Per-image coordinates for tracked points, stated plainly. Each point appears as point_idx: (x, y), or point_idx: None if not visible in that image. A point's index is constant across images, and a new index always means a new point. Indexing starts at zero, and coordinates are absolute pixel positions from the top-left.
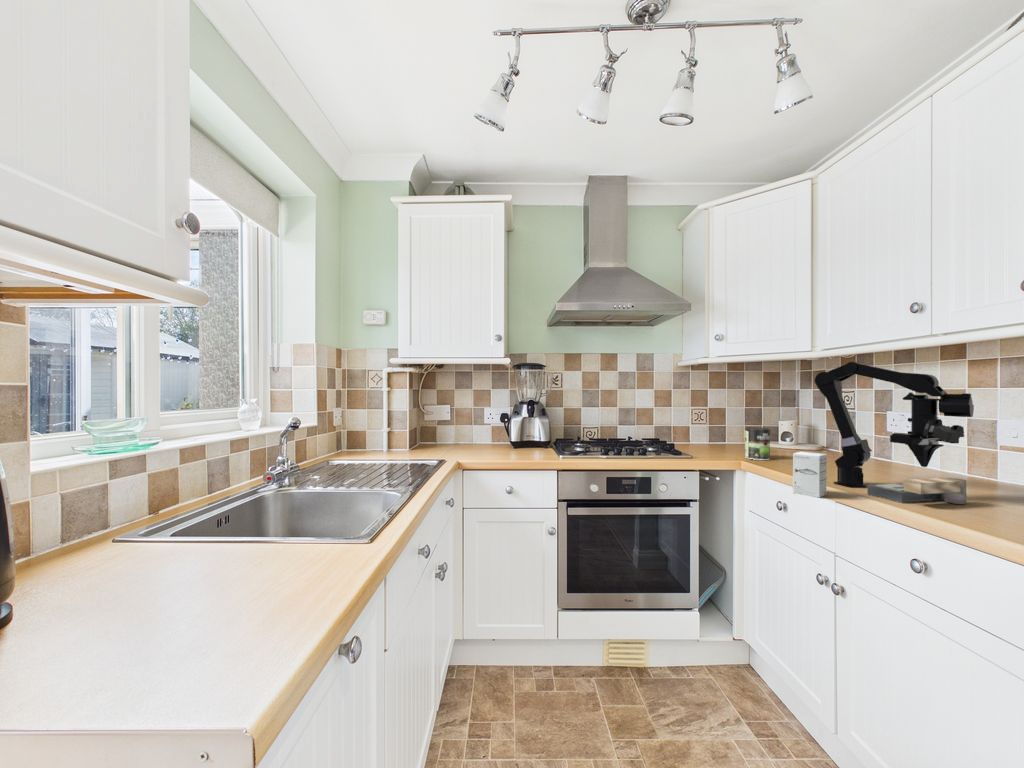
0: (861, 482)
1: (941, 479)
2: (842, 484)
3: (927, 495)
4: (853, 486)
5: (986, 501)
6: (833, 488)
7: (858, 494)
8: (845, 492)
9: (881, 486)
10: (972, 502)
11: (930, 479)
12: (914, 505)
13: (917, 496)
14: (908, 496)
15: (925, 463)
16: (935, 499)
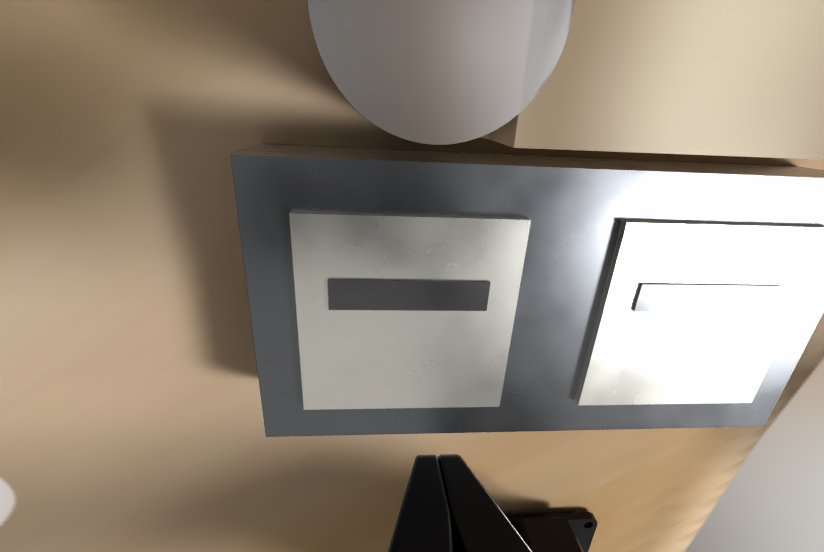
0: (542, 535)
1: (665, 64)
2: (586, 550)
3: (593, 163)
4: (577, 515)
5: (24, 26)
6: (697, 507)
7: None
8: (753, 437)
9: (761, 367)
10: (215, 34)
11: (814, 105)
12: None
13: (694, 167)
14: (785, 172)
15: (481, 494)
16: (492, 155)
